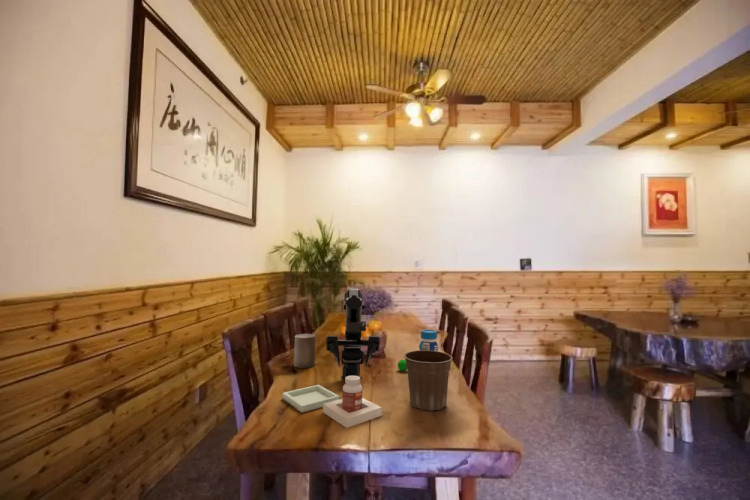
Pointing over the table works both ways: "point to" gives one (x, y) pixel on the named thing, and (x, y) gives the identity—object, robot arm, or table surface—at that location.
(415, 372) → the plant pot
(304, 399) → the parts tray
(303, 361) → the pillar candle
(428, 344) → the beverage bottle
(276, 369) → the table surface
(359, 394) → the pill bottle
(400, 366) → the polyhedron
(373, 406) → the socket block
